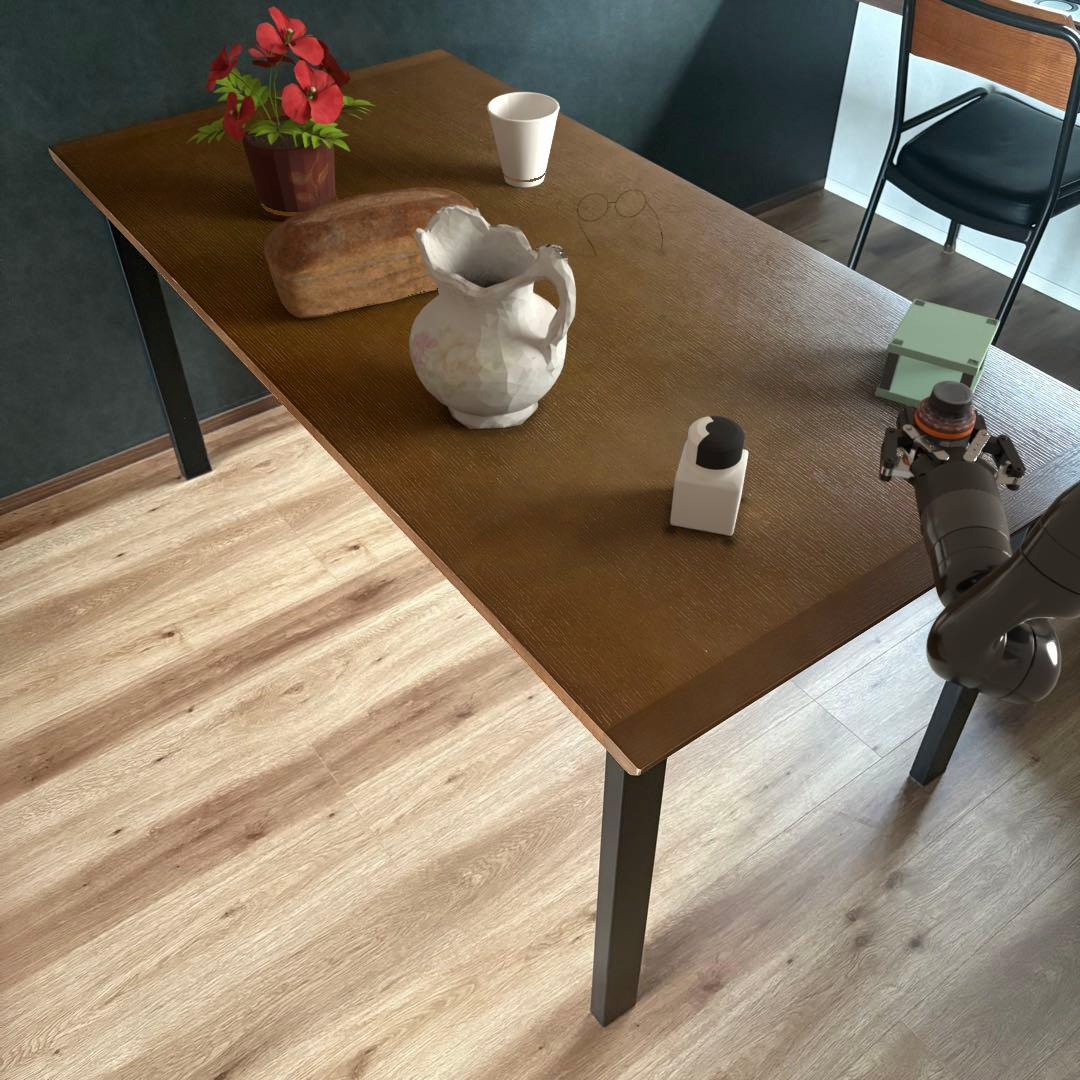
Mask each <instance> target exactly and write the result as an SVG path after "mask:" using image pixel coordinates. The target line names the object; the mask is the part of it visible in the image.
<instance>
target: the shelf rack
mask: <svg viewBox="0 0 1080 1080" xmlns="http://www.w3.org/2000/svg"><path fill="white" fill-rule="evenodd" d="M1000 323H1001V320H999V319H995V318H991V317H987V316H983V315H979V314H976V313H972V312H968V311H965V310H960V309H957V308H953V307H948V306H945V305H942V304H937V303H933V302H930V301H927V300H922V299H919V298H914V299H913V301H912V303H911V304H910V305H909V308H908V310H907V311H906V313H905V315H904V316H903V318H902V320H901V322H900V323H899V325H898V327H897V328H896V330H895V332H894V333H893V335H892V337H891V339H890V341H889V343H888V345H887V348H886V352H887V354H886V355H887V356H886V360H885V363H884V367H883V371H882V375H881V379H880V381H879V384H878V386H877V388H876V390H875V393H874V396H875V397H878V398H881V399H886V400H889V401H892V402H895V403H898V404H902V405H904V406H905V405H911V406H912V407H913V408H916V409H917V407H918V405H919V403H920V402H921V401H922V400H923V399H925V398H927V397H929V396H930V395H931V392H932V389H933V387H934V385H935V384H937V383H938V382H942V381H956V382H960V383H962V384H964V385H966V386H968V387H969V388H970V389H971V390H972V392H973V394H974V393H975V392H976V391H975V390H976V388H977V386H978V384H979V382H980V379H981V378H982V375H983V373H984V370H985V367H986V364H985V362H986V359H987V356H988V353H989V350H990V348H991V344H992V342H993V340H994V338H995V335H996V333H997V331H998V329H999V326H1000Z"/></svg>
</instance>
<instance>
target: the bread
mask: <svg viewBox="0 0 1080 1080" xmlns="http://www.w3.org/2000/svg"><path fill="white" fill-rule="evenodd" d="M450 204H451V205H453V204H456V205H459V206H465V207H467V208H469V209H472V210H475V209H476V207H474V205H473V203H472V202H471V201H470V200H469V199H467V198H466V197H465V196H463V195H462V194H460V193H458V192H456V191H454V190H450V189H446V188H440V187H432V186H428V187H426V186H418V187H417V186H416V187H410V188H400V189H391V190H383V191H375V192H366V193H362V194H361V193H360V194H355V195H352V196H349V197H344V198H342V199H338V201H335V202H332V203H329V204H326V205H323V206H320V207H317V208H313V209H310V210H307V211H305V212H302V213H299V214H297V215H295V216H293V217H291V218H289V219H287V220H286V221H281V223H279V224H278V225H277V226H276V227H275V228H273V229H272V230H271V232H270V233H269V234H268V235H267V237H266V240H264V242H263V253H264V256H265V259H266V260H267V264H268V268H269V272H270V275H271V278H272V281H273V284H274V286H275V289H276V292H277V295H278V298H279V297H280V298H279V301H280V302H282V303H281V304H282V306H283V305H284V306H283V307H284V308H285V310H286V309H287V310H286V311H287V312H288V313H289V314H290V315H292V316H294V317H295V318H297V317H307V318H303V320H305V319H318V318H325V317H328V316H332V315H336V314H339V313H342V312H345V311H351V310H355V309H359V308H364V307H368V306H373V305H374V306H375V305H379V304H385V303H390V302H394V301H397V300H401V299H405V298H408V297H411V296H416V295H419V294H424V293H428V292H433V291H438V289H437V285H436V283H435V281H434V280H433V279H432V277H431V276H430V274H429V272H428V270H427V268H426V267H425V264H424V261H423V259H422V256H421V252H420V248H419V244H418V242H417V240H416V239H415V238H414V237H415V232H416V230H417V228H421V229H422V230H423V229H425V228H426V226H427V224H428V222H429V221H430V219H431V218H432V217H433V216H434V215H435V214H437V213H436V212H437V211H438V210H439V209H441V208H442V207H443V206H444V207H446V206H448V205H450ZM423 291H425V292H423ZM420 292H421V293H420ZM415 293H417V294H415ZM411 294H413V295H411ZM408 295H409V296H408ZM373 303H374V304H373ZM367 304H369V305H367ZM363 305H364V306H363ZM358 306H359V307H358ZM354 307H355V308H354ZM349 308H351V309H349ZM345 309H346V310H345ZM341 310H342V311H341ZM337 311H339V312H337ZM333 312H335V313H333ZM330 313H331V314H330ZM325 314H328V315H325ZM320 315H323V316H320ZM312 316H316V317H312Z"/></svg>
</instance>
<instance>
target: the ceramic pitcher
mask: <svg viewBox="0 0 1080 1080" xmlns="http://www.w3.org/2000/svg"><path fill="white" fill-rule="evenodd" d="M436 213H437V214H435V215H434V216H433V217H432V218H431V219H430V221H429V222H428V224H427V226H426V228H425V229H423V230H422V229H421V228H417V230H416V232H415V237H414V238H415V239H416V240H417V242H418V244H419V248H420V252H421V256H422V259H423V261H424V264H425V267H426V268H427V270H428V272H429V274H430V276H431V277H432V279H433V280H434V281H435V283H436V285H437V288H438V290H437V292H438V295H437V296H436V297H433V298H432V300H431V301H429V302H428V303H426V305H425V306H423V307H422V309H421V310H420V312H419V313H418V314H417V315H416V317H415V319H414V321H413V323H412V326H411V330H410V334H409V335H410V336H409V339H408V345H409V354H410V359H411V362H412V365H413V367H414V370H415V373H416V376H417V377H418V379H419V381H420V382H421V384H422V385H423V387H424V388H425V389H426V391H427V392H429V393H430V394H431V395H432V396H433V397H434V398H435V399H436V400H437V401H438V402H439V403H441V404H442V405H444V406H446V407H447V408H448V410H449V412H450V414H451V417H452V418H453V419H455V421H457V422H459V423H460V424H462V425H463V426H465V427H466V428H467V429H469V430H474V429H475V430H478V429H505V428H509V427H515V426H521V425H522V424H524V423H525V422H526V421H527V420H528V419H529V418H530V417H531V416H532V415H533V414H534V413H535V412H536V411H537V410H538V408H539V401H540V400H541V399H542V398H544V396H545V395H546V394H547V393H549V391H550V390H551V389H552V387H553V386H554V384H555V383H556V381H557V380H558V378H559V376H560V375H561V373H562V370H563V367H564V363H565V358H566V352H567V338H568V335H567V334H568V331H569V328H570V326H571V325H572V322H573V321H574V318H575V316H576V305H577V289H576V283H575V282H576V281H575V277H574V273H573V270H572V268H571V267H570V265H569V262H568V258H569V255H568V254H567V253H565V252H564V249H563V248H562V247H561V246H560V245H556V244H550V243H547V244H544V245H541V246H536V247H535V250H534V249H532V246H531V244H530V243H529V240H528V239H527V237H526V235H525V234H524V233H523V231H522V230H521V229H520V228H519V226H512V225H509V224H506V223H505V224H491V223H488V221H487V220H485V218H484V216H482V214H481V212H480V210H479V208H478V207H475V210H472V209H469V208H467V207H465V206H459V205H456V204H453V205H451V204H450V205H448V206H446V207H444V206H443V207H442V208H441V209H439V210H438V211H437V212H436ZM559 248H560V249H559ZM540 280H541V281H542V280H543V281H544V280H547V281H549V282H551V283H552V284H554V287H555V289H556V292H557V294H558V299H559V305H558V307H557V309H556V307H554V306H553V304H552V303H550V302H549V301H548V300H547V299H545V298H544V297H542V296H540V295H539V294H537V293H535V292H534V285H535V282H538V281H540Z"/></svg>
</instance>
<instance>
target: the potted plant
mask: <svg viewBox="0 0 1080 1080" xmlns="http://www.w3.org/2000/svg"><path fill="white" fill-rule="evenodd" d="M268 12H269V14H270V16H271V18H272V20H273V21H274V23H275V25H276V28H275V26H274V25H272V24H271V23H269V22H263V23H259V24H258V26H257V28H256V31H255V33H256V41H257V43H258V44H259V45H258V44H256V43H255V42H252V41H249V42H250V44H251V45H253V46H254V47H256V48H258V49H259V50H257V49H255V48H249V49H248V53H249V54H250V55H251V57H255V58H257V59H251V64H252V65H254V66H258V67H262V68H265V69H269V68H270V70H269V71H270V72H269V78H268V79H269V80H268V85H263V86H262V82H261V79H260V77H256V78H252V75H251V74H250V73H248V74H245V75H243V76H242V75H241V72H240V71H239V70H238V69H237V68H236V66H237V64H238V63H239V60H238V57H236V56H238V55H239V54H241V53H242V51H243V47H242V44H241V43H235V44H233V45H231V47H230V49H229V51H228V55H227V41H225V42H224V43H223V46H222V49H221V51H220V53H219V54H218V55H217V57H216V58H215V59H213V60H212V61H211V63H210V67H209V73H207V79H206V87H205V90H206V91H208V92H209V91H212V93H215V94H216V93H217V94H218V93H221V94H222V93H224V94H223V95H222V96H220V97H219V98H218V99H217V102H223V101H224V102H226V107H225V112H224V113H223V117H220V118H219V119H218V120H215V121H213V122H212V123H211V124H210V125H204V126H201V127H199V128H197V129H196V130H197V131H199V132H198V133H196V134H194V135H193V136H191V138H190V139H188V140H187V142H186V144H188V143H189V142H191V141H192V140H194V139H197V140H196V143H195V144H196V145H198V144H199V143H200V142H201V141H203V140H204V139H205V138H206V137H208V136H209V137H208V142H207V143H208V145H209V144H210V143H211V141H212V140H213V139H214V138H215V136H216V141H217V143H219V142H220V140H221V139H222V137H223V135H224V134H225V133H226V135H227V136H228V137H229V138H230V139H231V140H232V141H237V142H241V143H242V146H243V149H244V153H245V155H246V160H247V162H248V165H249V169H250V172H251V175H252V178H253V181H254V184H255V188H256V191H257V195H258V198H259V200H258V205H259V208H260V210H261V213H262V214H263V215H264V216H266V218H269V219H272V220H274V221H277V222H278V221H279V222H284V221H286V220H287V219H289V218H291V217H293V216H283V215H276V214H273V213H271V212H268V211H266V210H265V209H264V208H263V207H262V205H260V204H261V203H263V204H264V205H265V206H266V207H268V208H271V209H273V210H278V211H283V212H305V211H307V210H310V209H313V208H317V207H320V206H323V205H325V204H326V203H328V202H330V200H331V199H332V198H333V197H334V194H336V197H335V201H338V200H339V199H338V194H337V191H336V173H335V172H336V170H335V169H336V168H335V145H337V146H338V147H340V148H343V149H344V150H346V151H348V152H351V150H350V148H349V146H348V145H347V143H346V142H345V141H343V140H342V139H339V138H342V137H348V136H350V134H347V133H345V132H343V130H342V129H339V128H336V127H337V126H338V125H339V124H338V123H336V122H335V121H336V120H337V119H338V118H339V116H340V115H341V114H343V115H348V116H351V117H354V118H357V119H360V120H362V121H363V119H362V118H361V117H360V116H358V115H356V114H354V113H351V112H345V111H342V110H350V111H356V112H359V113H362V114H365V115H368V116H370V114H369V113H368V112H371V113H373V111H371V110H369V109H368V108H365V107H362V106H364V105H365V106H366V105H367V106H373V107H378V106H377V105H375V103H372V102H369V101H367V100H363V99H354V98H353V97H351V96H349V95H344V94H343V93H342V91H341V89H340V88H342V87H344V86H346V85H348V83H349V82H350V81H351V75H350V72H349V71H347V70H342V68H341V67H340V65H339V63H338V61H337V60H336V58H335V57H333V55H332V54H331V53H330V47H329V46H328V45H327V44H326V43H325V42H324V41H323V40H320V39H318V38H316V37H313V36H314V35H313V34H311V33H310V34H308V35H307V34H306V33H307V31H308V30H307V28H306V25H305V24H304V23H303V21H301V20H300V19H298V18H290V17H289V16H287V15H286V14H285V13H284V12H282V11H280V10H279V8H276V7H275V6H272V7H269V8H268ZM305 34H306V35H305ZM260 50H261V52H262V53H263V54H262V53H261V52H260ZM290 50H291V51H292V53H293V54H294V55H296V56H297V57H298V58H297V59H298V61H297V62H296V61H295V60H294V59H292V58H291V57H289V56H287V55H286V53H289V51H290ZM259 58H265V59H266V60H262V59H259ZM282 62H285V63H290V64H292V65H294V67H293V72H294V75H295V79H296V80H297V82H298V83H299V84H296V83H292V82H291V83H289V84H288V85H286V86H284V88H283V91H282V94H281V97H280V96H277V93H276V80H277V76H278V72H279V69H280V66H281V64H282ZM307 62H308V63H309V64H310V65H312V66H318V69H316V68H313V67H311V66H310V65H309V64H308V63H307ZM276 66H277V67H276ZM274 67H276V70H275V74H274V77H273V80H272V73H273V68H274ZM271 81H272V83H271ZM216 84H217V85H221V87H219V88H217V89H216V90H214V88H215V86H216ZM272 84H273V86H272V87H273V97H272V96H271V85H272ZM243 92H244V93H243ZM242 94H243V95H242ZM238 101H241V103H238ZM264 104H271V106H272V110H273V113H274V117H270V115H269V113H268V111H267V109H266V108H265V106H264ZM345 105H346V106H345ZM360 105H361V106H360ZM277 106H281V107H282V109H283V111H284V113H285V115H279V114H278V109H277ZM258 107H262V108H263V110H264V111H265V114H266V115H267V119H264V118H263V116H262V114H261V113H260V112H259V110H258V109H257V108H258ZM255 111H256V112H257V113H259V115H260V117H261V118H262V120H260V119H255V118H252V117H253V116H254V114H255ZM366 111H367V112H366ZM373 114H374V113H373ZM248 120H251V121H256V122H255V123H253V124H251V125H250V126H248V127H247V129H245V131H244V128H246V125H247V123H246V122H247V121H248ZM244 132H245V133H244ZM260 201H261V202H260ZM335 201H334V202H335Z"/></svg>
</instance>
